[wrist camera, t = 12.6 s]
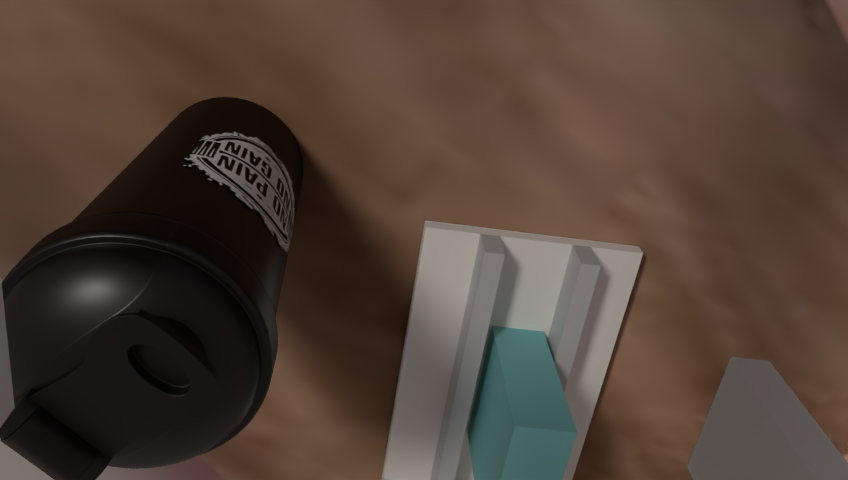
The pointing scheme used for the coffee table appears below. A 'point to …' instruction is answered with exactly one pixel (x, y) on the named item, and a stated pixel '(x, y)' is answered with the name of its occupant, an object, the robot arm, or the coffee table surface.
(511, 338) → the teal sliding block
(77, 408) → the water bottle
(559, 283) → the track
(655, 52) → the coffee table surface
